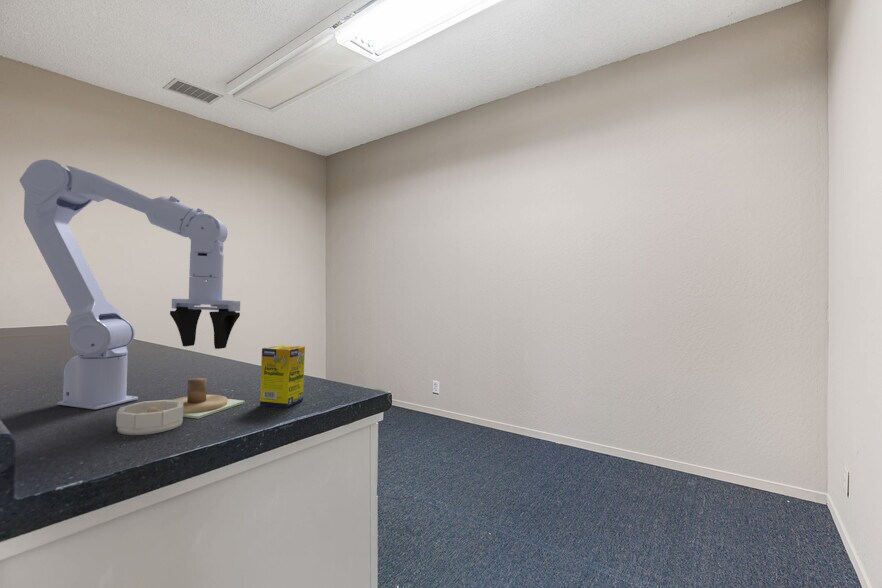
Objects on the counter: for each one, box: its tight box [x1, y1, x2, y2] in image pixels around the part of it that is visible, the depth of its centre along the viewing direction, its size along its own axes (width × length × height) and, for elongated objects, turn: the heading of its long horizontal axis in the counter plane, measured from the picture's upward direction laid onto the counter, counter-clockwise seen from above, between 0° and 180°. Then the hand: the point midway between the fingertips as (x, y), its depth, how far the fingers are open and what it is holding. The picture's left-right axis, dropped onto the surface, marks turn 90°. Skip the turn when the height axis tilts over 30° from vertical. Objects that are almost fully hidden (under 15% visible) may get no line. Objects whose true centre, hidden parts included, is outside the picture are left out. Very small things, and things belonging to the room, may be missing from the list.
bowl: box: [115, 399, 184, 436], centre depth 66 cm, size 8×8×3 cm
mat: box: [183, 398, 246, 420], centre depth 77 cm, size 11×11×1 cm
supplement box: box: [259, 344, 306, 409], centre depth 82 cm, size 6×6×11 cm
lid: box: [171, 377, 228, 413], centre depth 77 cm, size 10×10×5 cm
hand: (204, 347), depth 82 cm, fingers open, 7 cm apart
